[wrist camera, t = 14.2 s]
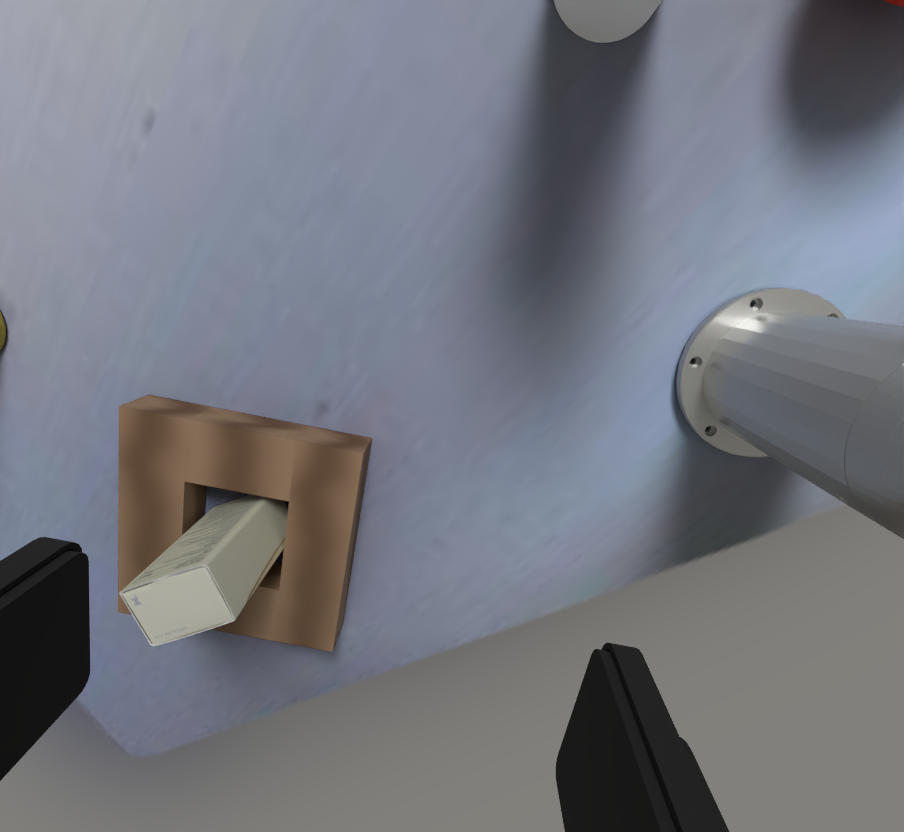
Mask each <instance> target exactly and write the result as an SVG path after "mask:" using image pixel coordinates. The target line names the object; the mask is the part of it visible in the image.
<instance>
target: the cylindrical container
mask: <svg viewBox="0 0 904 832" xmlns="http://www.w3.org/2000/svg"><path fill="white" fill-rule="evenodd" d="M661 2H662V0H554V4H555V7H556V10H557V12H558V14H559V16H560V18H561V19H562V21H563V22H564V23H565V24H566V26H567V27H568V28H569V29H570V30H571V31H573V32H574V33H575V34H576V35H578V36H580V37H582V38H583V39H585V40H588V41H592V42H596V43H610V42H614V41H619V40H622V39H624V38H626V37H628V36H630V35H632V34H633V33H634V32H636V31H637V30H639V29H640V28H641V27H642V26H643V25H644V24H645V23H646V22H647V21H648V20H649V18H650V17H651V16H652V14H653V13H654V11H655V10H656V9H657V7H658V6H659V4H660V3H661Z"/></svg>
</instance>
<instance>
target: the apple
mask: <svg viewBox="0 0 904 832" xmlns="http://www.w3.org/2000/svg"><path fill="white" fill-rule="evenodd" d="M884 1H887V2H889V3H891V4H893V5H898V6H902V7H904V0H884Z"/></svg>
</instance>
